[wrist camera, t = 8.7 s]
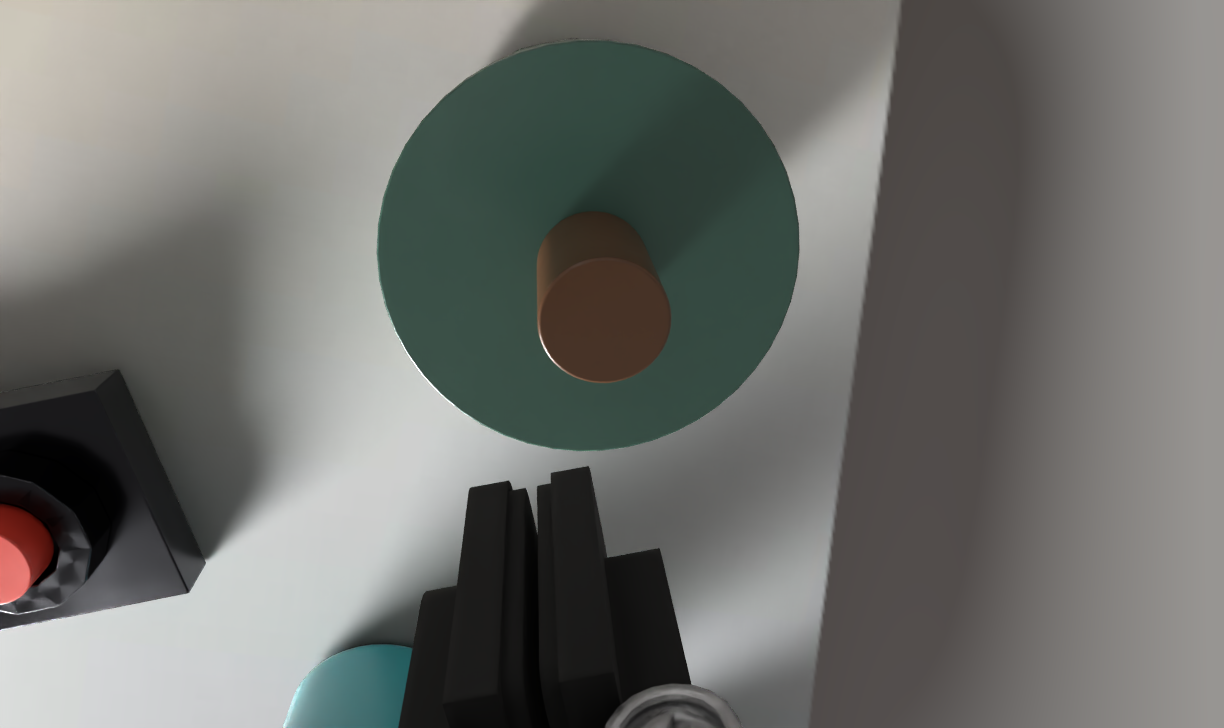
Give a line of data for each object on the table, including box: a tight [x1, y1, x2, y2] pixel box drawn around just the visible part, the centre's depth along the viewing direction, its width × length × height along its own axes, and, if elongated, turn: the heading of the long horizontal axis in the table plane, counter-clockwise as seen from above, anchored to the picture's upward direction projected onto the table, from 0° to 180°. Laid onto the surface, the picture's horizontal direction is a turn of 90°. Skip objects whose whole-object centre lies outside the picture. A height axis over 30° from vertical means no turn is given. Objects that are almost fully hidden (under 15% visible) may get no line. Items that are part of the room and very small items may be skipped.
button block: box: [0, 369, 206, 631], centre depth 36 cm, size 10×10×4 cm
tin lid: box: [377, 40, 799, 451], centre depth 22 cm, size 11×11×6 cm
